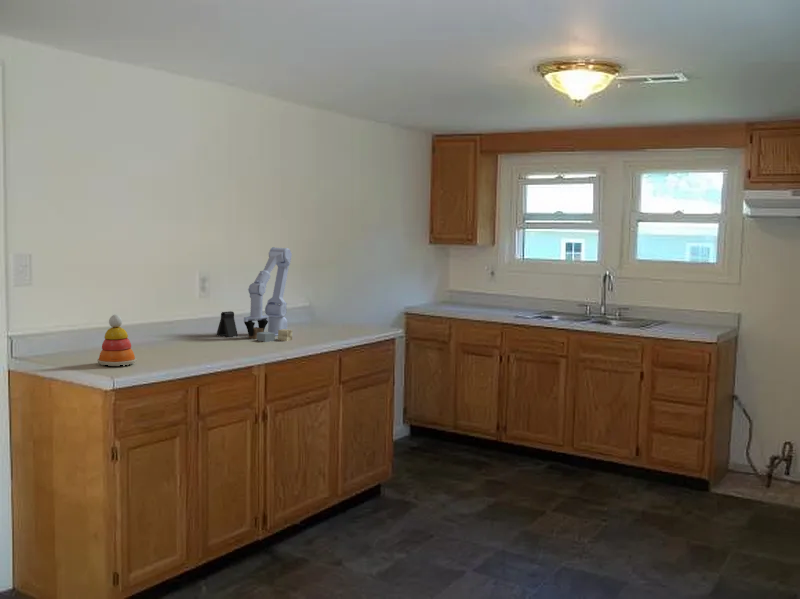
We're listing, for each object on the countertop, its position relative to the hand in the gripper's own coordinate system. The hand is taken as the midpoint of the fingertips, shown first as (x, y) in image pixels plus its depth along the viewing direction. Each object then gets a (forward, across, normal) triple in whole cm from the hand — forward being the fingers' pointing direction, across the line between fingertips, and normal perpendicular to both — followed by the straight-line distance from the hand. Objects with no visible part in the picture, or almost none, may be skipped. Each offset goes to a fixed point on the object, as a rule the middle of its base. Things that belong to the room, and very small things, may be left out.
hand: (255, 335), depth 392 cm
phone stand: (+2, +6, -14) cm, 15 cm away
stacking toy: (+2, +89, +18) cm, 91 cm away
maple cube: (+2, -7, +13) cm, 15 cm away
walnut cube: (+2, 0, 0) cm, 2 cm away
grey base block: (+2, +2, +9) cm, 9 cm away
